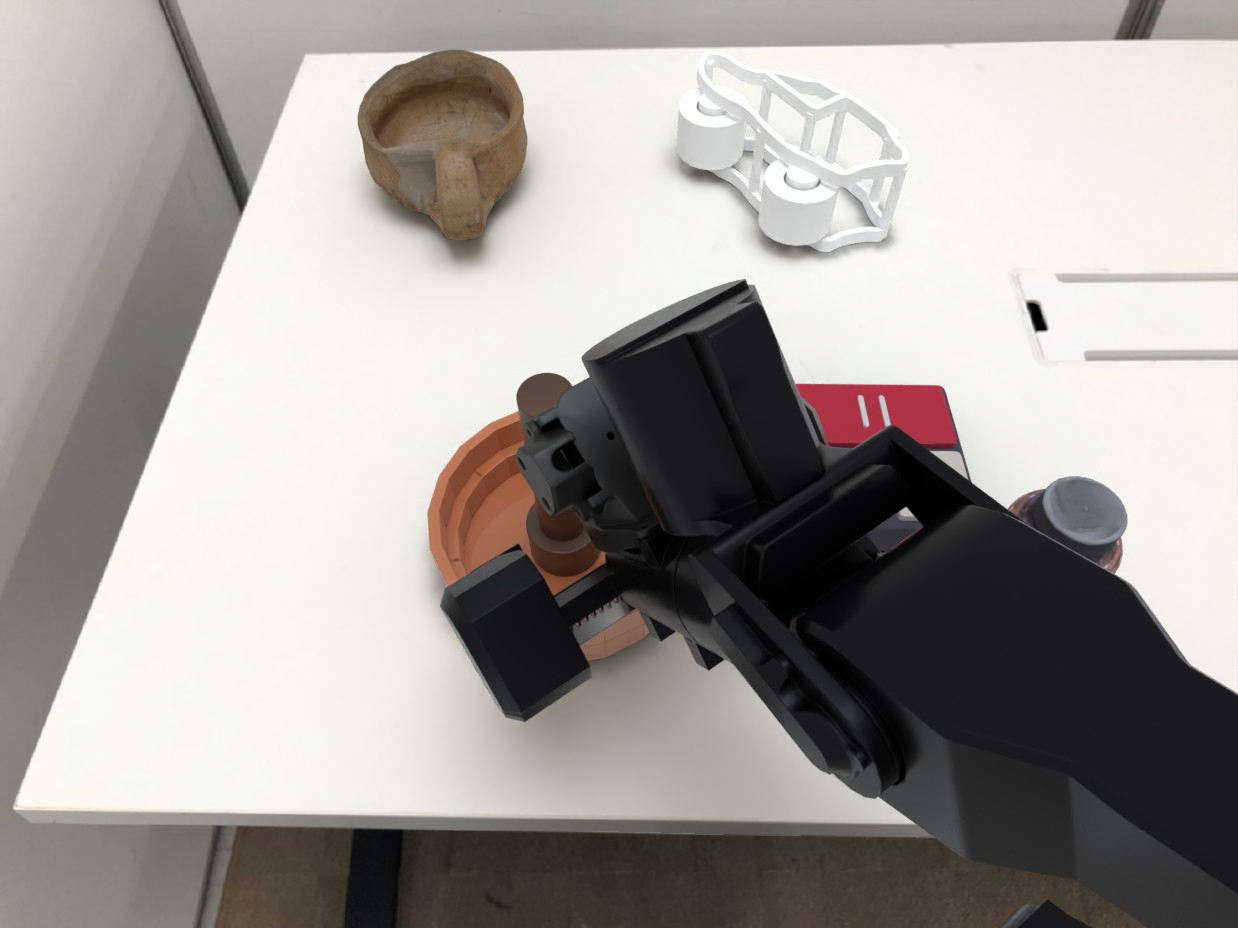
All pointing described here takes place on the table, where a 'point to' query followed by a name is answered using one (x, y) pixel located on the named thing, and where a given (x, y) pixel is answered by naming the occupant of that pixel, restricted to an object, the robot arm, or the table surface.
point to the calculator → (876, 406)
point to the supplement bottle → (1078, 518)
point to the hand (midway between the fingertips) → (589, 520)
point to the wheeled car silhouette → (788, 153)
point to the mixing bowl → (500, 521)
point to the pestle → (551, 539)
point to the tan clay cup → (445, 137)
